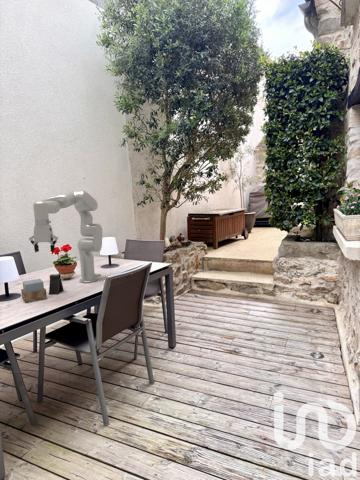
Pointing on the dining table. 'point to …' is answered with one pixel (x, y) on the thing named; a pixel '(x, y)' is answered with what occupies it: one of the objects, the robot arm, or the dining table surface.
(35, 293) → the base block
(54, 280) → the phone stand
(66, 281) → the dining table surface
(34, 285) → the top block
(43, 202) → the robot arm
